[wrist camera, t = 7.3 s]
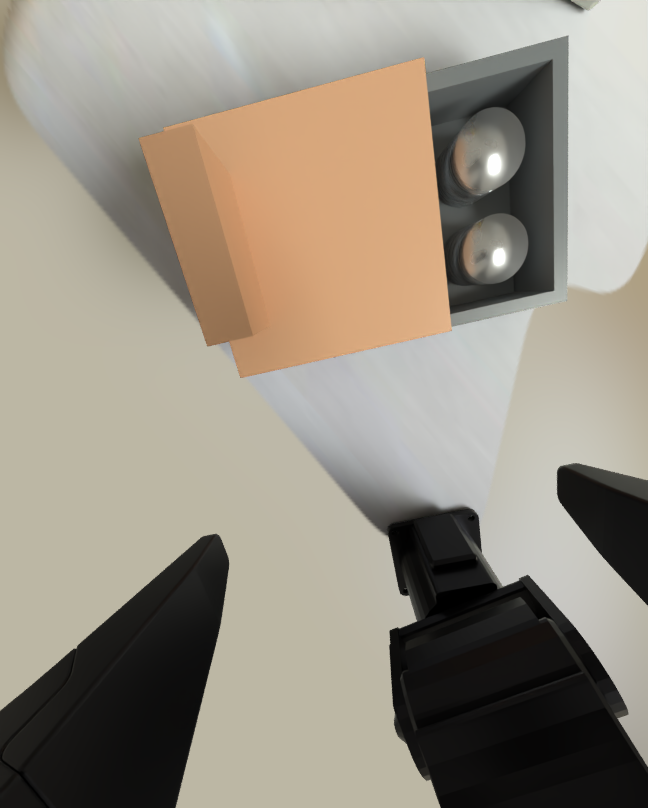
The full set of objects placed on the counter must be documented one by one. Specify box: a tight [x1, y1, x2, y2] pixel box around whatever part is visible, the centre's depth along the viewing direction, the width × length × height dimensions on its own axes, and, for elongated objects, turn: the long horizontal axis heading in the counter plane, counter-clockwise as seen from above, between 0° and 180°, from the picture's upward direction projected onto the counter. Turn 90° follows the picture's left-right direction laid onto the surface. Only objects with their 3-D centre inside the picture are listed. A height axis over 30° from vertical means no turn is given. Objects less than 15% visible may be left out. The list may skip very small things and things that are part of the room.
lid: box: [139, 57, 452, 378], centre depth 12 cm, size 10×10×5 cm
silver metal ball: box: [435, 107, 525, 208], centre depth 16 cm, size 3×3×3 cm
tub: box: [426, 36, 568, 327], centre depth 16 cm, size 10×10×4 cm
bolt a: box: [444, 213, 528, 286], centre depth 17 cm, size 3×3×3 cm
